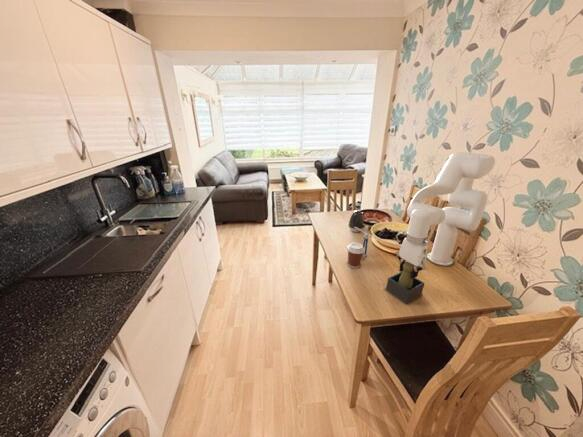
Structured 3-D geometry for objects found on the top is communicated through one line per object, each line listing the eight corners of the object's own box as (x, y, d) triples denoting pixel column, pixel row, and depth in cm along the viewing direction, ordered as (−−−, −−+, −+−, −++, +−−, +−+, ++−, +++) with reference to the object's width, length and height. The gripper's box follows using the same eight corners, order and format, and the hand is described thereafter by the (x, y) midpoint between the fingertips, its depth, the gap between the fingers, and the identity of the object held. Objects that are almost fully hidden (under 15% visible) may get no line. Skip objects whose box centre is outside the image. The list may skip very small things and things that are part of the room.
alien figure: (346, 249, 146) (349, 220, 139) (352, 247, 149) (356, 218, 141) (371, 265, 130) (376, 234, 123) (378, 262, 133) (383, 232, 125)
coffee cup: (363, 270, 127) (365, 250, 122) (345, 268, 128) (347, 249, 124) (361, 260, 135) (364, 242, 130) (345, 258, 137) (347, 240, 132)
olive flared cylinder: (411, 290, 105) (416, 269, 101) (397, 285, 108) (401, 265, 104) (413, 282, 110) (418, 262, 105) (399, 278, 113) (403, 258, 108)
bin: (400, 281, 118) (403, 270, 115) (421, 294, 109) (424, 283, 107) (385, 289, 113) (388, 277, 110) (406, 303, 104) (409, 291, 101)
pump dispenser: (364, 233, 165) (367, 213, 159) (349, 233, 165) (351, 213, 159) (360, 227, 174) (363, 208, 168) (346, 227, 175) (348, 208, 169)
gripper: (441, 244, 95) (431, 281, 102) (403, 228, 108) (396, 262, 115) (430, 249, 91) (420, 287, 98) (392, 232, 104) (386, 266, 112)
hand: (407, 273), depth 107 cm, fingers closed on olive flared cylinder, 5 cm apart
